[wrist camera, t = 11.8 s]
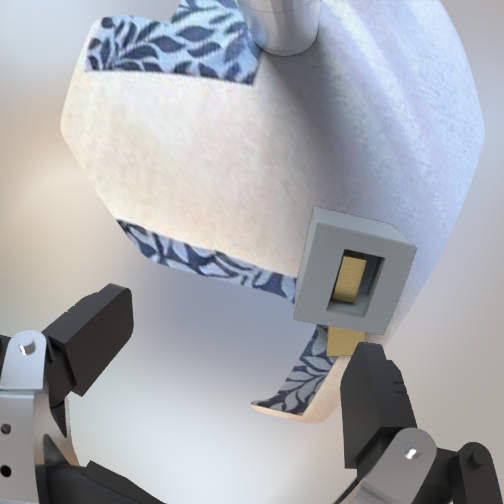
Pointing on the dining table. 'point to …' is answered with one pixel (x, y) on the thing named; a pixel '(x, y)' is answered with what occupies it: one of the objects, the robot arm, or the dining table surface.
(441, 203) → the dining table surface
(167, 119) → the dining table surface
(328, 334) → the block
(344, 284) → the gold flat square block
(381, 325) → the grey hollow block
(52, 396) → the robot arm
